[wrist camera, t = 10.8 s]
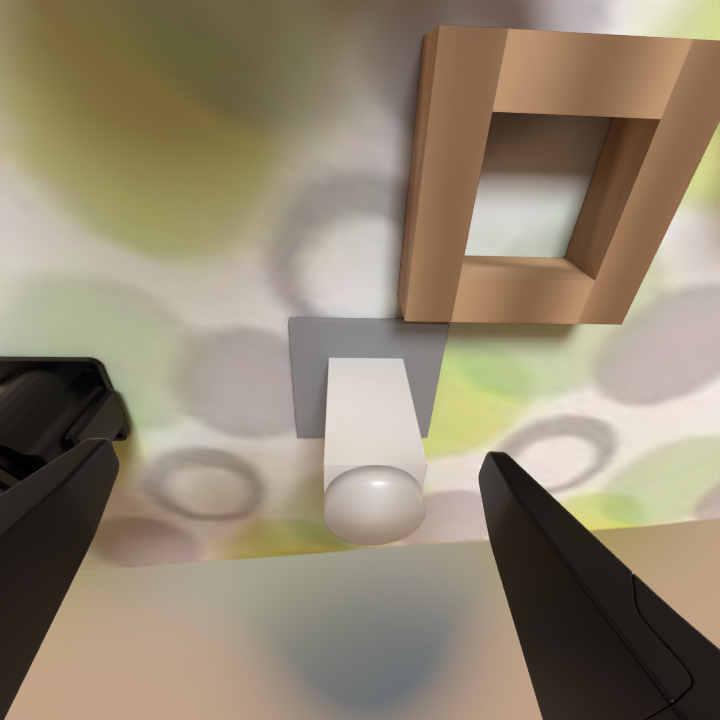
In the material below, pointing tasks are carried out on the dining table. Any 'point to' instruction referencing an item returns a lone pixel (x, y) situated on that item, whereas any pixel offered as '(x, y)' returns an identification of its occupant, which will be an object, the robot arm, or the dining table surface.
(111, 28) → the dining table surface
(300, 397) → the mat
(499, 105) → the housing
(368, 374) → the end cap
